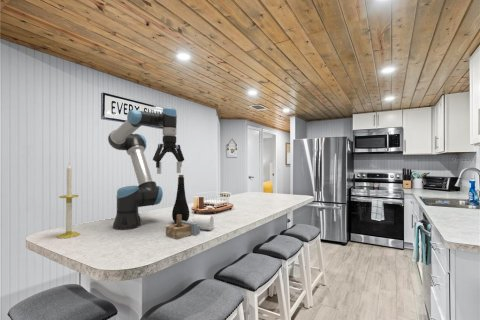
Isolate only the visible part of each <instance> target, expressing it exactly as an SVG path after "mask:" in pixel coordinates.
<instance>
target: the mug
mask: <svg viewBox="0 0 480 320" xmlns="http://www.w3.org/2000/svg"><path fill="white" fill-rule="evenodd" d="M192 223H197V225H198V226H200V231H201V230H202V231H203V230H204V231H212V230H213V227H214V216H213V215H206V214H205V215H204V214H194V216H193V218H192Z"/></svg>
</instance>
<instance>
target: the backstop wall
mask: <svg viewBox="0 0 480 320" xmlns="http://www.w3.org/2000/svg"><path fill="white" fill-rule="evenodd" d="M192 222H193V221H192ZM192 222H191V221H189V220H188V221H183V220H182V224H187V225H191V235H190V236H193V237H194V236H195V237H196V236H198V234H201V230H200V226H198V225H197V223H192ZM176 224H177V220H176Z"/></svg>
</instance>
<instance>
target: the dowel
mask: <svg viewBox="0 0 480 320" xmlns="http://www.w3.org/2000/svg"><path fill="white" fill-rule="evenodd" d="M177 227H182V215H181V214H178V215H177Z"/></svg>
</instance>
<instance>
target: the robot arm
mask: <svg viewBox="0 0 480 320" xmlns="http://www.w3.org/2000/svg"><path fill="white" fill-rule="evenodd" d="M161 112H162V113H158V112H156V113H155V112H151V111H143V110H138V109H130V110H129V111H128V112H127V117H126V118H127V119H126V120H125V121H124V122H123V123H122V124H121V125H120V126H118V128H116V129H114V130H111V132H110V133H108V136H107V140H108V143H109V145H110V146H111V148H112V149H115V150H117V151H118V150H119V151H126V153H127V154H126V155H128V156H130V159H131V163H132V166H133V169H134V173H135V176H136V180H137V183H138V185H127V186H123V187H119V188H118V189H117V190H116V196H115V198H116V213H115V214H116V215H115V216H114V220H113V224H112V226H113V227H112V228H113V229H115V230H121V231H122V230H133V229H137V228H140V227H141V226H142V220H141V216H140V214H139V208H143V207H149V206H156V205H158V204H160V203H161V202H162V199H163V196H164V195H163V194H164V193H163V188H162V187H161V186H159V185H157V183H156V181H154V180H153V177H152V175H151V172H150V169H149V165H148V162H147V159H146V156H145V153H144V152H145V151H146V149H147V140H146V137H145V136H144V135H142V134H140V133H139V134H138V133H134V132H136V131H137V130H138V129H139V128H140V127H142V126H151V127H154V128H162V135H163V136H162V143H158V144H157V149H156V150H155V153H154V156H153V157H152V161H154V162H155V168H156V174H157V175H161V174H162V159H163V158H164V156H165V155H166V154H167V153H172V155H173V157H174V158H175V159H176V160H177V161H176V174H181V173H182V171H181V170H182V169H181V168H182V166H183V165H182V163H183V162H184V161H185V157H184V155H183V151H182V148H181V145H180V144H177V124H178V123H177V121H178V120H177V119H178V115H177V114H178V113H177V109H176V108H173V107H163V108H162V111H161Z"/></svg>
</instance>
